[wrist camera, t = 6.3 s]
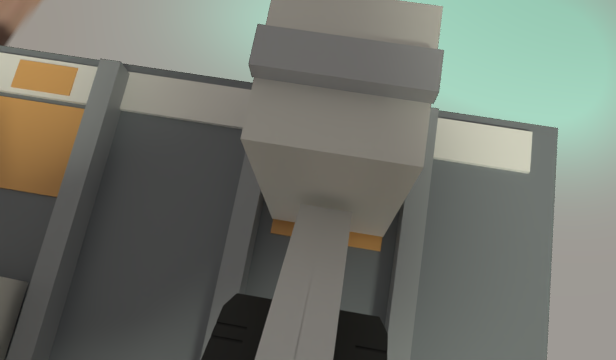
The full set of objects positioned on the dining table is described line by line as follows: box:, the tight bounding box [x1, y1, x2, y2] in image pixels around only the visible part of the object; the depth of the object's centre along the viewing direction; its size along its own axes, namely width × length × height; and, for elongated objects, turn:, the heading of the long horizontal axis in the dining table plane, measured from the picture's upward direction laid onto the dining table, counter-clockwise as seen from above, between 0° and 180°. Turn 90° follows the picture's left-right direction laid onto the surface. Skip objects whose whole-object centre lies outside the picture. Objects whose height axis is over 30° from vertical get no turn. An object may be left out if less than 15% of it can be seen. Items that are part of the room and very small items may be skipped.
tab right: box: [240, 0, 444, 237], centre depth 16 cm, size 4×4×9 cm
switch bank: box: [0, 45, 558, 360], centre depth 20 cm, size 28×16×3 cm, turn 80°
